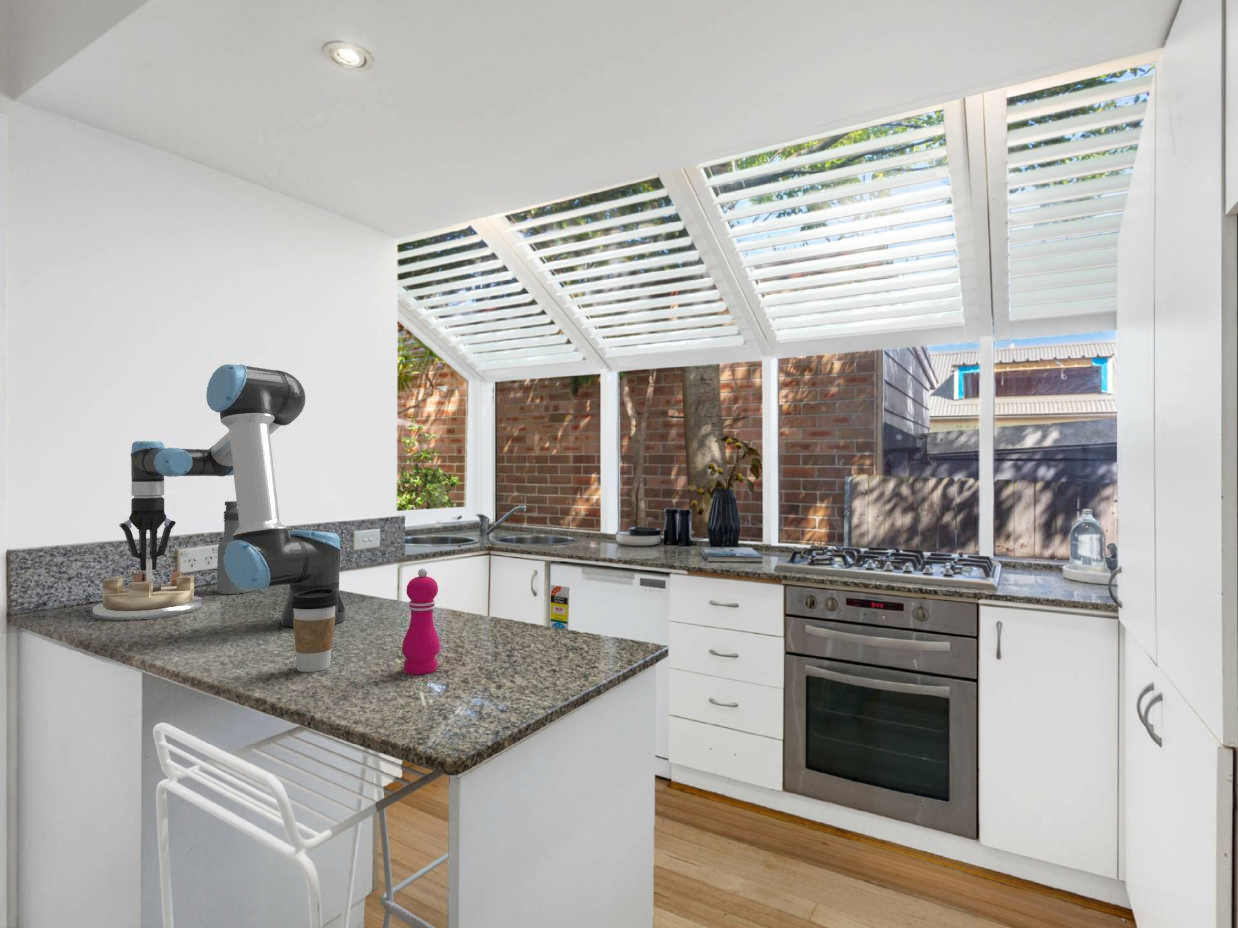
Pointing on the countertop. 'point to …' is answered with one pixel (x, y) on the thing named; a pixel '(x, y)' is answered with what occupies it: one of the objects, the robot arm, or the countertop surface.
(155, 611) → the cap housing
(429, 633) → the pepper mill
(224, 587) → the water bottle
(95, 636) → the countertop surface
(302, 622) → the coffee cup
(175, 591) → the ring nut
